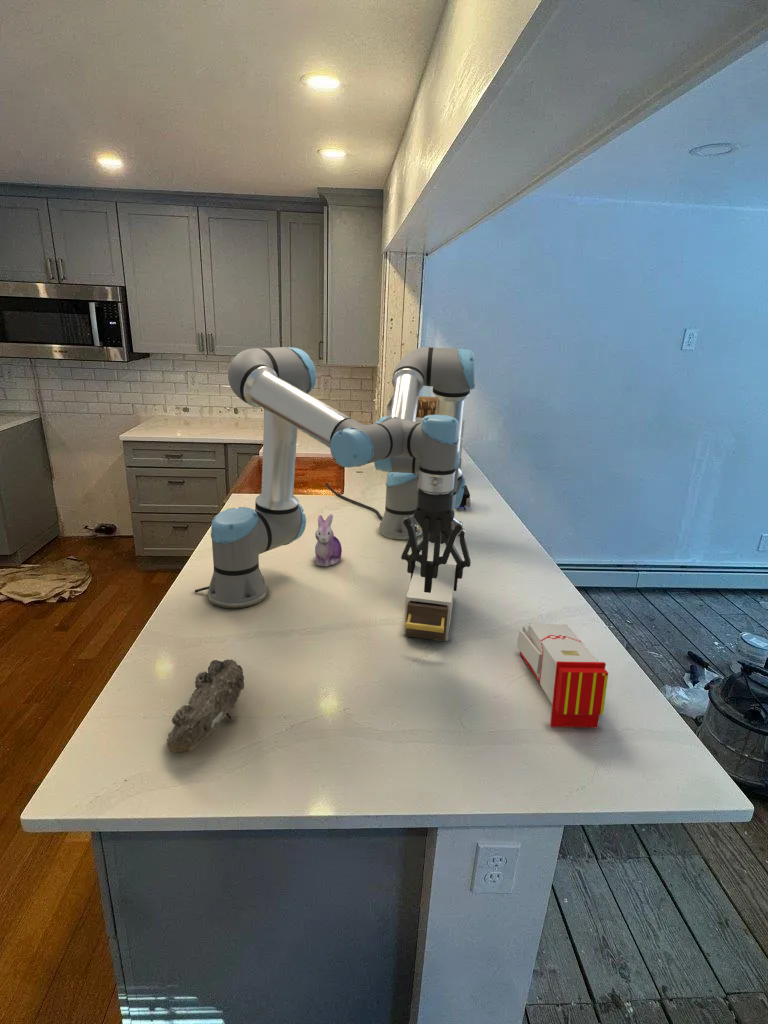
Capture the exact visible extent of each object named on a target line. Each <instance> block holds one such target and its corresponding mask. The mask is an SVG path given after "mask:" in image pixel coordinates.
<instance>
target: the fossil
mask: <svg viewBox="0 0 768 1024" xmlns="http://www.w3.org/2000/svg"><path fill="white" fill-rule="evenodd" d="M243 670H244V669H243V667H242V665H240V664H237V662H236V661H235V660H234V659H232V658H231V659H227V658H226V659H224V660H223V661H222V660H217V659H212V660H211V661H210V663H209V665H208V666H207V671H201V672H199V673H198V674H197V675H196V676H195V680H194V684H195V685H194V687H195V689H194V690H193V693H192V694H191V697H190V698H189V700H188V704H184V705H182V706H181V707H180V709H177V710H176V711H175V713H174V715H173V716H172V718H171V723H172V724H173V727H172V730H171V731H170V732H168V734H167V738H166V741H167V742H166V745H167V749H168V750H169V751H173V752H174V753H176V754H178V753H182V752H188V751H189V752H192V751H193V750H195V748H196V747H197V746H199V744H200V743H201V742H203V741H204V740H205V739H206V738H207V737H208V736H209V735H210V734H211V733H212V732H214V730H215V729H217V727H218V726H219V724H220V722H221V721H222V720H223V719H224V718H225V716H226V717H227V719H229V720H233V717H232V715H230V714H229V710H230V709H231V708H234V706H235V704H236V703H237V702H238V699H239V697H240V695H241V693H242V691H243V690H245V689H244V688H245V675H244V671H243Z"/></svg>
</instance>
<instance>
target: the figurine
mask: <svg viewBox="0 0 768 1024" xmlns="http://www.w3.org/2000/svg"><path fill="white" fill-rule="evenodd" d="M333 520H334V514H332V513H330V514H329V515H328V516H327V518H326V519H324V517H323V515H322V514H319V515H318V516H317V529H316V531H315V534H314V536H315V537H314V538H315V539H316V543H315V546H314V553H315V558H314V561H315V565H316V566H319V567H320V566H321V567H328V566H334V565H336V564H338V563H340V562H341V559H342V553H343V549H342V544H341V542H340V540H339V538H337V537H336V536H335V535H334V531H333V529H332V523H333Z"/></svg>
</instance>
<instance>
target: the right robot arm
mask: <svg viewBox="0 0 768 1024" xmlns="http://www.w3.org/2000/svg"><path fill="white" fill-rule="evenodd" d="M475 370H476V369H475V354H474V352H473V350H470V349H465V348H460V347H458V348H457V347H431V346H422V347H418V348H415V349H413V350H411V351H410V352H408V353H406V354H405V355H404V356H403V357H402V358H401V359H400V361H398V363H397V364H396V366H395V368H394V370H393V373H392V378H391V384H392V387H393V393H392V396H393V398H392V397H391V398H392V403H391V409H390V415H389V417H398V418H400V419H404V420H409V421H414V422H415V421H416V413H417V405H418V398H419V397H420V392H421V391H422V389H424V387H432V394H433V395H434V397H437V405H436V415H446V416H451V417H454V418H455V419H457V421H458V424H459V426H458V438H459V442H458V445H457V454H456V463H455V480H454V489H453V490H452V492H453V502H452V513H453V515H454V517H453V518H454V519H455V510H457V508H458V509H459V506H460V504H461V501H462V497H463V493H464V487H465V485H466V477H465V476H464V475H463V472H462V469H461V470H460V469H459V464H460V460H459V456H460V453H459V450H460V439H461V440H462V438H461V429H462V419H464V408H465V407H464V406H465V399H466V398H467V397H469V396H470V394H471V391H472V390H474V389H476V371H475ZM419 462H420V459H417V458H412V457H408V456H404V455H398V456H394V457H390V458H387V459H383V460H379V461H375V462H373V465H374V468H375V470H377V471H380V472H388V473H387V475H386V482H385V487H386V488H385V504H384V505H385V507H384V508H385V509H384V513H383V515H382V516H381V514H380V512H379V510H377V509H375V508H374V507H372V506H369V505H367V504H364V503H361V502H358V501H357V500H354V499H352V498H349V497H346V496H345V495H342V494H340V493H339V492H337V491H335V490H334V489H333V488H332V487H331V486H330V484H329V483H328V482H325V483H324V484H325V486H326V487H327V489H328V490H329V491H330V492H332V493H333V494H334V495H336V496H337V497H339V498H341V499H343V500H345V501H348V502H350V503H352V504H354V505H358V506H360V507H363V508H365V509H368V510H370V511H371V512H372V511H373V512H374V513H375V514H376V515H377V517H378V519H379V520H381V522H379V527H378V533H379V534H380V535H381V536H382V537H385V538H387V539H389V540H395V541H407V542H406V543H405V547H404V549H403V550H402V554H401V556H400V559H401V560H402V561H407V562H406V563H407V565H406V567H407V568H406V571H407V573H408V574H410V580H411V579H412V575H413V572H414V569H415V565H416V562H417V561H414V560H413V556H412V552H411V553H410V554H409V551H411V546H410V540H409V535H408V530H407V528H406V527H405V525H404V523H403V521H404V519H405V517H406V516H411V515H413V514H414V512H415V510H416V508H417V494H418V490H419V489H420V488H419V487H418V479H419ZM451 525H452V524H451V523H450V524H449V525H448V526H447V527H446V528H445V529H444V530H443V531H442V532H441V543H440V545H445V546H446V545H447V542H448V539H449V536H450V533H451V531H452V529H451ZM414 527H415V532H416V537H417V539H418V538H420V537H421V536H423V529H422V528H421V527H420V525H419V524H418V522H417V521H416V519H415V525H414ZM456 538H457V539H459V544H460V550H461V552H462V553H461V554H462V556H463V559H462V556H461V555H460V553H459V551H458V550H457V548H456V546H455V544H453V546H452V549H451V552H450V554H451V556H452V558H453V560H454V562H455V563H456V564H455V565H456V570H455V581H454V592H457V591H458V589H457V588H458V581H459V580H462V579H463V575H464V574H463V572H464V568H470V567H471V563H472V561H471V556H470V553H469V549H468V545H467V541H466V529H465V528H463V527H462V530H461V531H460V532H459V533H458V534H457V536H456ZM422 541H423V539H422V540H421V541H420V542H419V543H418V548H419V553H420V554H421V552H422ZM434 541H435V532H430V533H429V543H431V544H434Z"/></svg>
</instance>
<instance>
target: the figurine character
mask: <svg viewBox="0 0 768 1024" xmlns="http://www.w3.org/2000/svg"><path fill="white" fill-rule="evenodd" d="M466 507H468V508H470V507H471V493H470V491H469V488H468V486H467V485H466V484H465V487H464V493H463V497H462V501H461V504H460V506H459V507H458V508H457V509H456V510H457V511H459V510H460V509H463V511H465V512H466V511H467V508H466Z"/></svg>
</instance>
